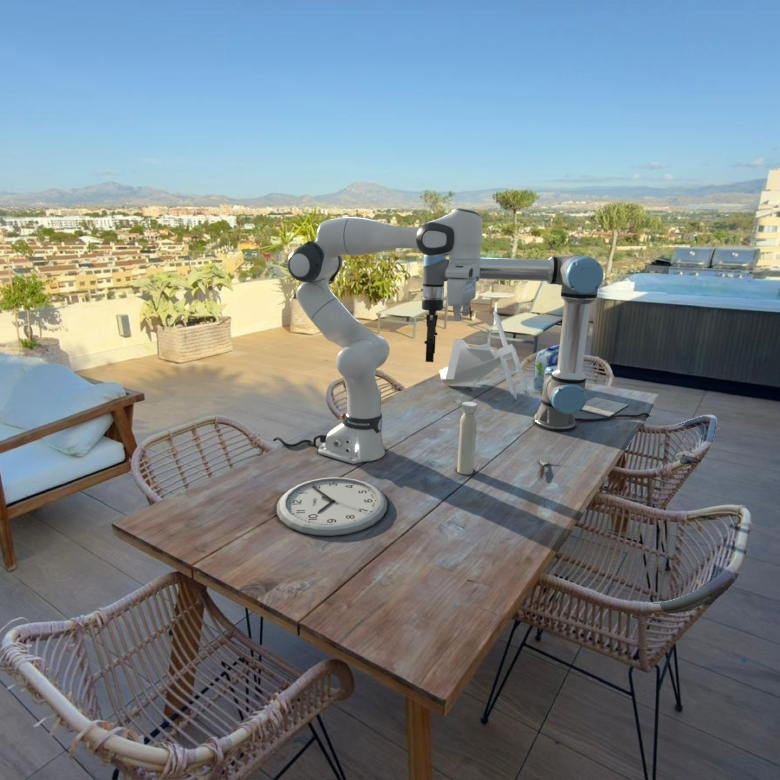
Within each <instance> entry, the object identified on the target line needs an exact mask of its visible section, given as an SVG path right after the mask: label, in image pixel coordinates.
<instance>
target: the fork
mask: <svg viewBox="0 0 780 780" xmlns="http://www.w3.org/2000/svg"><path fill="white" fill-rule="evenodd" d="M549 456H550V454H549V453H548V454H547V456H545V455H543V454H541V455H540V459H539V463H540V464H541V467H540V469H539V470H540V472H539V473H540V478H542V477H543V475H544V473H545V465H548V464H549Z"/></svg>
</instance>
